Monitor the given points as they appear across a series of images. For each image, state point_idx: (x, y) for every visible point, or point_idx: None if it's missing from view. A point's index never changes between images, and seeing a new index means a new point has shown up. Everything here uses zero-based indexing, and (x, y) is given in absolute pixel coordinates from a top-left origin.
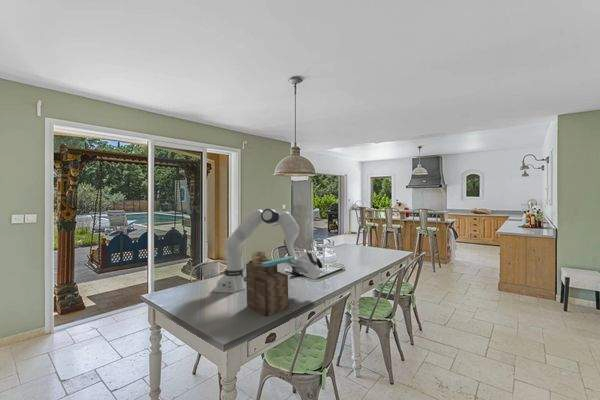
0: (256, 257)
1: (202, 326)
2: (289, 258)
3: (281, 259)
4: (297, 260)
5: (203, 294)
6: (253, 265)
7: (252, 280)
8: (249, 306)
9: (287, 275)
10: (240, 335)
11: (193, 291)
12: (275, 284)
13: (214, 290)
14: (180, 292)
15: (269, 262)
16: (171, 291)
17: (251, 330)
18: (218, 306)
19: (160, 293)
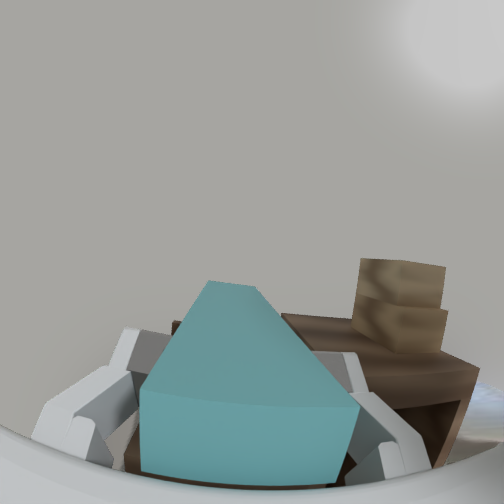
0: (360, 286)
1: None
2: (173, 337)
3: (217, 307)
4: (36, 443)
5: (480, 432)
6: (311, 316)
7: None
8: None
9: (125, 457)
10: (138, 410)
11: (501, 419)
12: None
13: (500, 443)
14: (493, 405)
15: (212, 285)
16: (499, 397)
17: (132, 428)
18: None
19: (487, 389)
